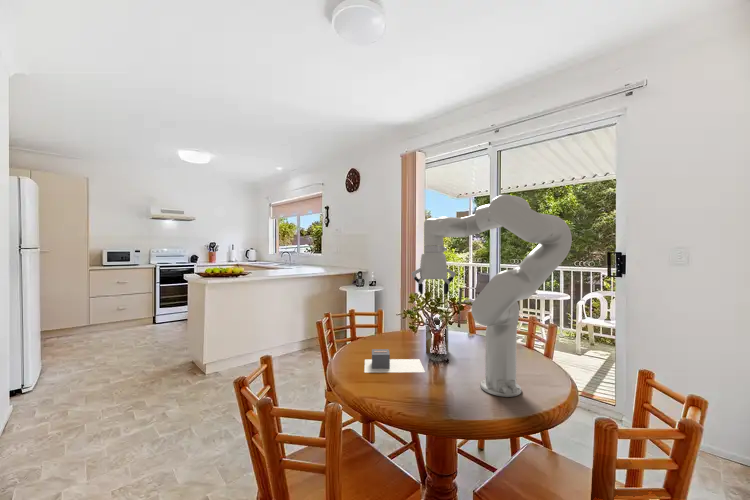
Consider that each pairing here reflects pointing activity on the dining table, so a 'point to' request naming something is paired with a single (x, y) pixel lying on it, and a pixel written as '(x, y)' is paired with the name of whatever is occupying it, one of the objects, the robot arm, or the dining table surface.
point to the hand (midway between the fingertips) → (433, 293)
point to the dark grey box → (380, 359)
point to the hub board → (396, 366)
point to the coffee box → (429, 336)
